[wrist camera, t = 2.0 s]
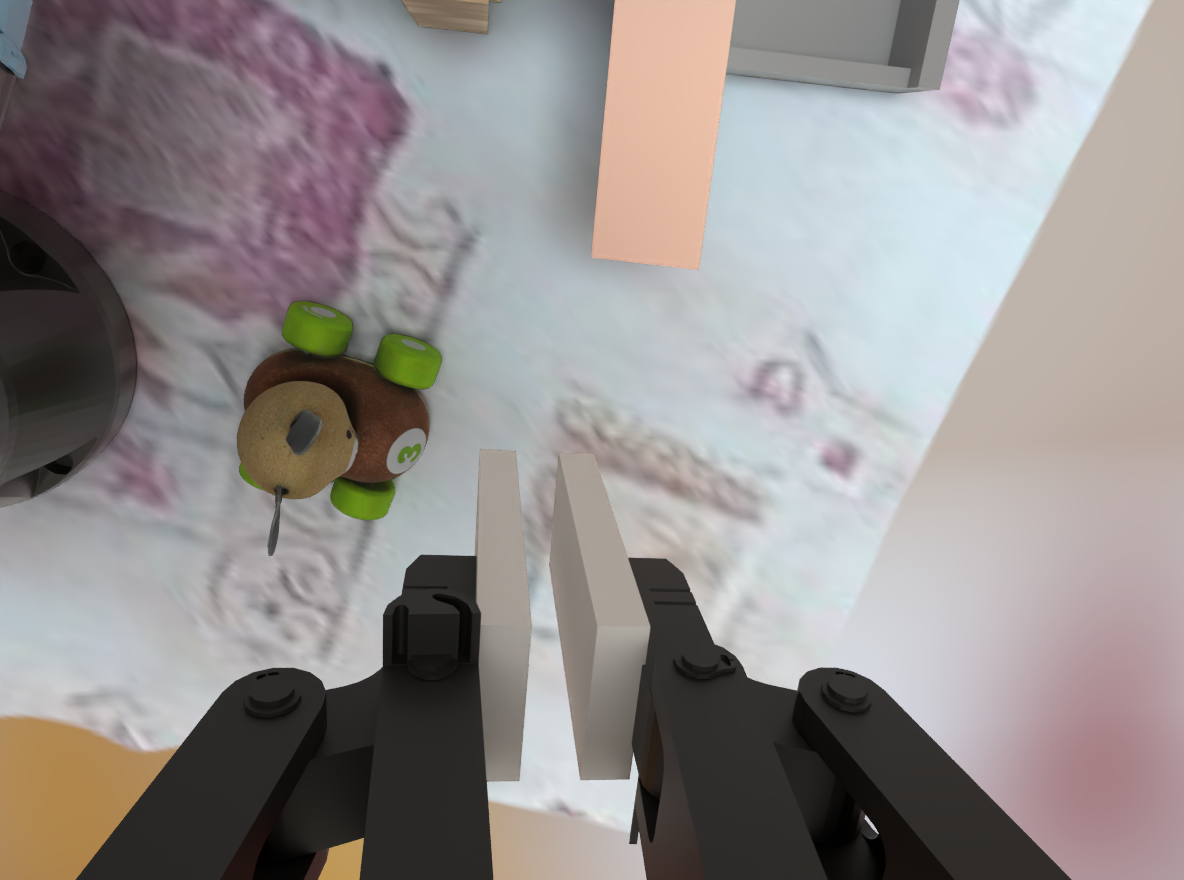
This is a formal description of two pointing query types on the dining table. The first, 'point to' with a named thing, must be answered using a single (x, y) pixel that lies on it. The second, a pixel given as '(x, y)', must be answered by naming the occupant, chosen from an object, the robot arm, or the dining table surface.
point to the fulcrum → (451, 14)
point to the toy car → (334, 416)
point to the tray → (844, 42)
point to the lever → (660, 129)
